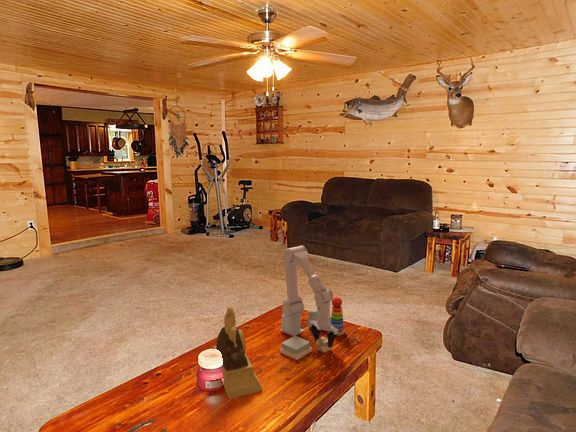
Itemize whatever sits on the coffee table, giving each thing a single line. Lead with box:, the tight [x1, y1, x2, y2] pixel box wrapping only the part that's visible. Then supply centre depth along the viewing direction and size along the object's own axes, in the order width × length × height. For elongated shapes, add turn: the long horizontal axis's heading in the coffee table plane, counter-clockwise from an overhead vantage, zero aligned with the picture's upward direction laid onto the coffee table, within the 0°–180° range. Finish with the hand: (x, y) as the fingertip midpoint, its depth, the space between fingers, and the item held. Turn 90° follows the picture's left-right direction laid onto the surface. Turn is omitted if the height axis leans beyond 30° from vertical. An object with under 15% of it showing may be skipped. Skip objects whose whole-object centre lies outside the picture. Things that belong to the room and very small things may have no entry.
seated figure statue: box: [213, 306, 263, 400], centre depth 156 cm, size 28×13×30 cm, turn 23°
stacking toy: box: [330, 296, 346, 337], centre depth 192 cm, size 8×8×19 cm
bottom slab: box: [279, 346, 313, 361], centre depth 176 cm, size 10×10×2 cm
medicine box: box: [307, 308, 317, 329], centre depth 200 cm, size 8×4×9 cm, turn 84°
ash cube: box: [315, 336, 332, 354], centre depth 177 cm, size 5×5×5 cm
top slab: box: [281, 335, 311, 355], centre depth 175 cm, size 9×9×2 cm
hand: (323, 344), depth 177 cm, fingers open, 7 cm apart
